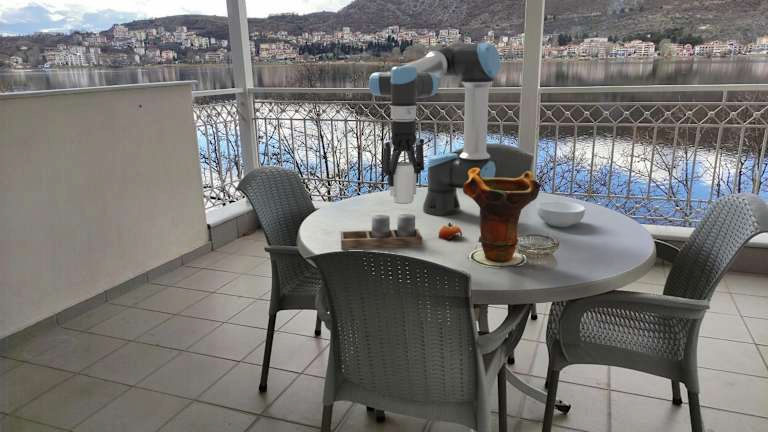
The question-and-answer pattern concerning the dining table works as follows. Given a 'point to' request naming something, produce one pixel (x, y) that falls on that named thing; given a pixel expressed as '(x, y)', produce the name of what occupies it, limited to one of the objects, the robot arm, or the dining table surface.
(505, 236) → the decorative vase
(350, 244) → the socket rail
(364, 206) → the dining table surface
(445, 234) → the tomato
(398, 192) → the can
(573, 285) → the dining table surface
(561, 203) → the cereal bowl
